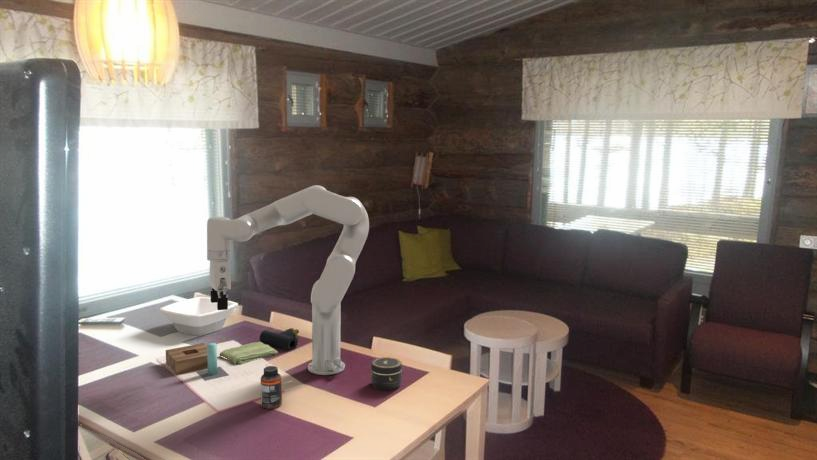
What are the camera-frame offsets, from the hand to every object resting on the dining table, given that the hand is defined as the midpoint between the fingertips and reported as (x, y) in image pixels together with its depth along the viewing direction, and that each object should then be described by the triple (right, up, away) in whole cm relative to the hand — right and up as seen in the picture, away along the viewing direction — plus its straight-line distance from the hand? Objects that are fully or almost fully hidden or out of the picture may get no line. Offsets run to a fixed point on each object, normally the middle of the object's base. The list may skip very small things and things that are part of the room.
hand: (219, 305), depth 191 cm
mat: (-2, -23, 0) cm, 23 cm away
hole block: (-12, -22, +8) cm, 26 cm away
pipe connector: (+15, -19, +32) cm, 40 cm away
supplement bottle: (+22, -27, -22) cm, 41 cm away
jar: (+55, -25, -6) cm, 61 cm away
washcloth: (+5, -21, +18) cm, 28 cm away
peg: (-2, -22, 0) cm, 23 cm away
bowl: (-23, -16, +47) cm, 55 cm away
